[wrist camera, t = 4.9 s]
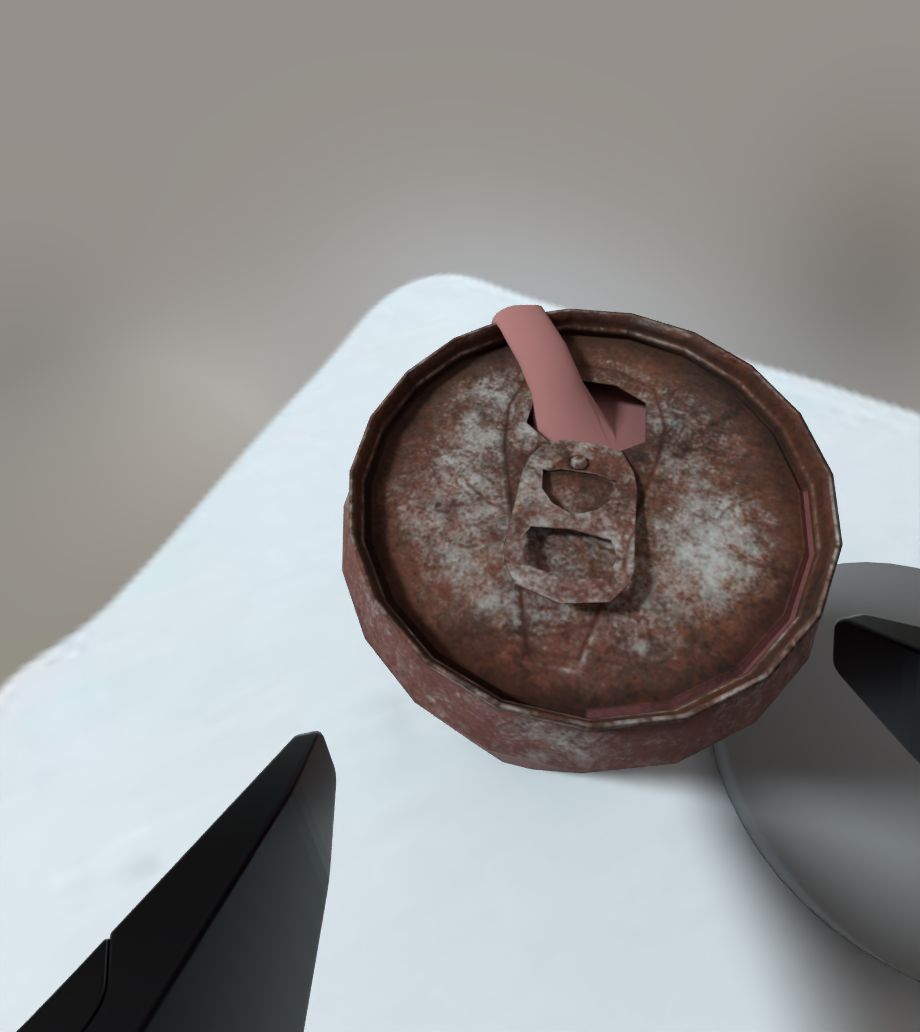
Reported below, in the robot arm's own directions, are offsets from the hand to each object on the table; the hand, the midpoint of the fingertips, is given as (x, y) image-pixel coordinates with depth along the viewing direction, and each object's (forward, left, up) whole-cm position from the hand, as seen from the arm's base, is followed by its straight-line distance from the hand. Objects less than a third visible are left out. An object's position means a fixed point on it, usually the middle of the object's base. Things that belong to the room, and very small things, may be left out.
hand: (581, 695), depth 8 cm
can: (+2, -1, -10) cm, 10 cm away
